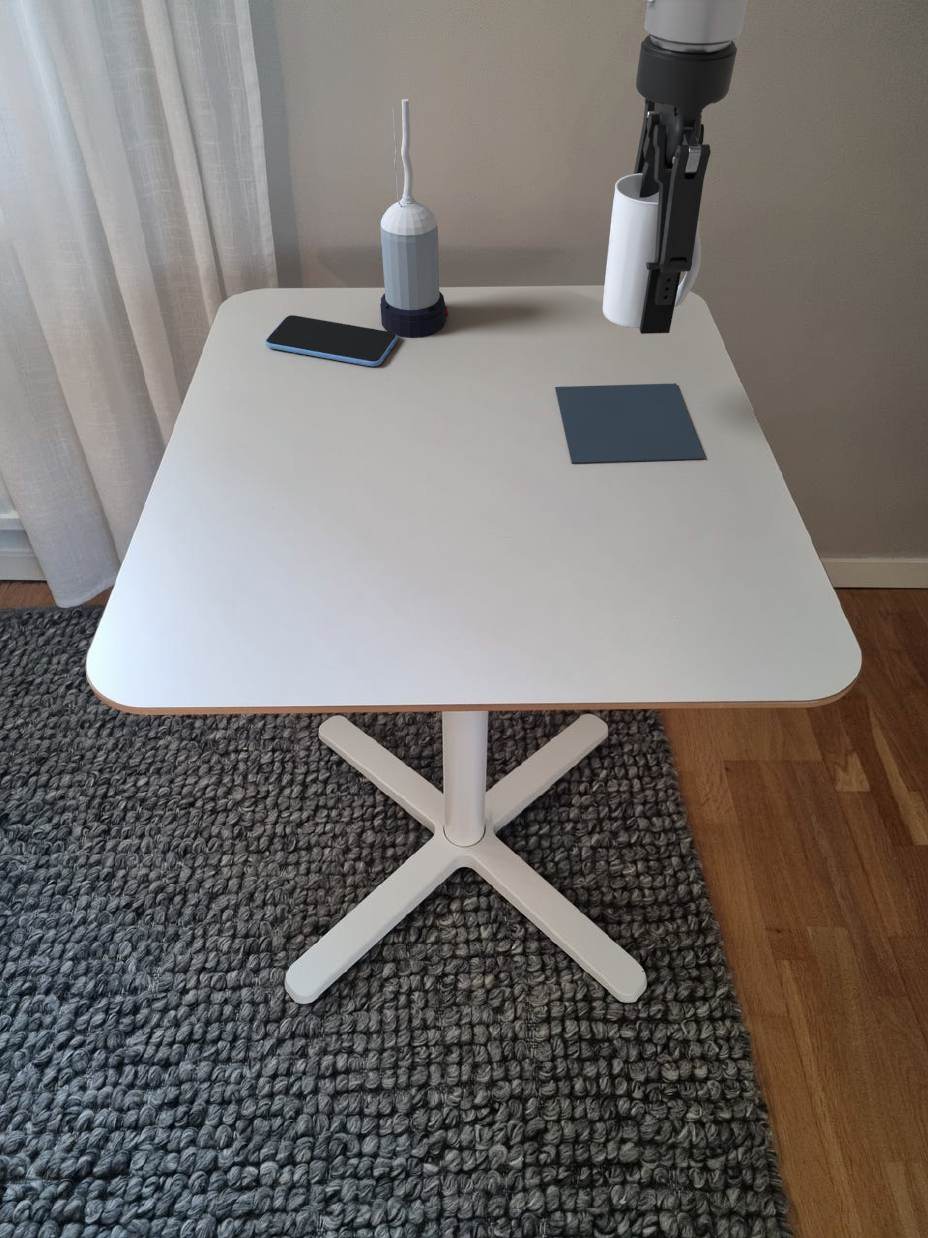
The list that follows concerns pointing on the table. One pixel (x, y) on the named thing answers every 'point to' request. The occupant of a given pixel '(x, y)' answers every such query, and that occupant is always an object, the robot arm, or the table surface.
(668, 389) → the mat
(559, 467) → the table surface
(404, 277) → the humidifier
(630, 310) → the mug
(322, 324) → the smartphone
